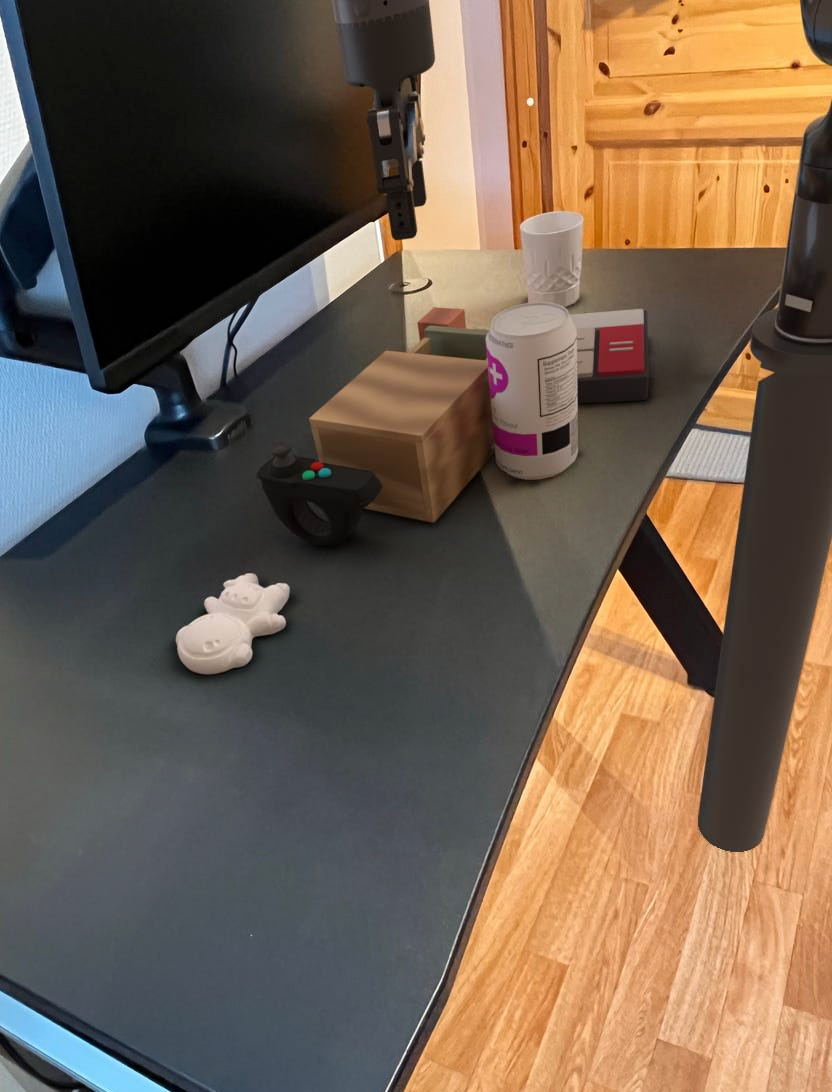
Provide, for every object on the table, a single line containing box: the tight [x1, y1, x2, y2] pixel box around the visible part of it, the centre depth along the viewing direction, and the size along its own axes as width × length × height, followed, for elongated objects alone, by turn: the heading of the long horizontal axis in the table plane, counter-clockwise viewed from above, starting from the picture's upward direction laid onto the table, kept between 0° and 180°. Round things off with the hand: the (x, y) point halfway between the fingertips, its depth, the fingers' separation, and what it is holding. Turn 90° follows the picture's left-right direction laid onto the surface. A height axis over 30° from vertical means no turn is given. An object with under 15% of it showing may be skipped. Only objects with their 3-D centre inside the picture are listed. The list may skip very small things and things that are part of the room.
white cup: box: [519, 210, 584, 308], centre depth 114 cm, size 8×8×10 cm
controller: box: [256, 441, 382, 547], centre depth 82 cm, size 4×12×10 cm, turn 59°
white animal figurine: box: [175, 572, 291, 675], centre depth 77 cm, size 9×12×3 cm
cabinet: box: [308, 350, 495, 524], centre depth 88 cm, size 15×13×10 cm
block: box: [416, 306, 467, 342], centre depth 111 cm, size 4×4×4 cm
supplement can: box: [486, 302, 579, 481], centre depth 84 cm, size 8×8×15 cm
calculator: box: [569, 308, 650, 405], centre depth 99 cm, size 11×4×15 cm
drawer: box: [407, 325, 489, 361], centre depth 94 cm, size 18×11×8 cm, turn 147°
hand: (410, 221), depth 79 cm, fingers open, 8 cm apart
